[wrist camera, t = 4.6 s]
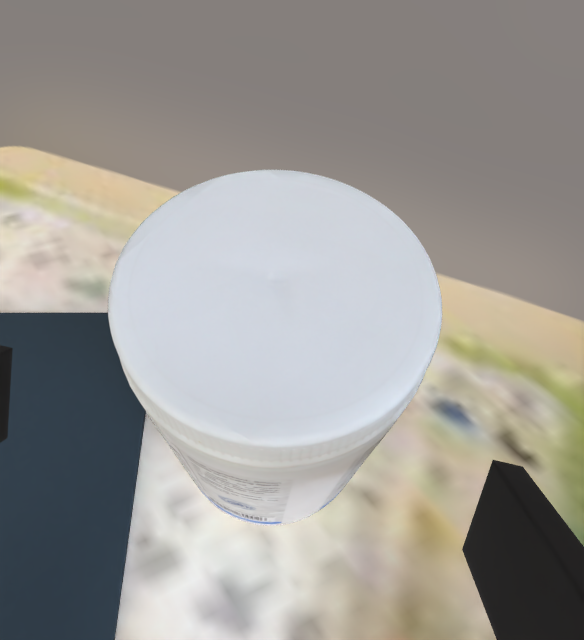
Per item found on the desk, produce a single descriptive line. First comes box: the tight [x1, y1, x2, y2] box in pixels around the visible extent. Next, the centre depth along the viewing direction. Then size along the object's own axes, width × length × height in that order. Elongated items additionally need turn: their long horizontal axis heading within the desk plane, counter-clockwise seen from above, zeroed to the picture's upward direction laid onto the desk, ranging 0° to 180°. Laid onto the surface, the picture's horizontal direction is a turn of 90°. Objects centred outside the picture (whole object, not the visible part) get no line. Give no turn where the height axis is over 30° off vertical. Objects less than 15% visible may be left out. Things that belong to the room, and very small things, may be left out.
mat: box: [0, 313, 146, 640], centre depth 23 cm, size 14×17×1 cm
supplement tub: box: [108, 170, 442, 525], centre depth 18 cm, size 10×10×15 cm
